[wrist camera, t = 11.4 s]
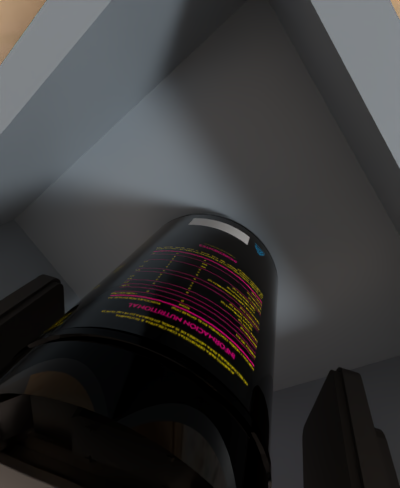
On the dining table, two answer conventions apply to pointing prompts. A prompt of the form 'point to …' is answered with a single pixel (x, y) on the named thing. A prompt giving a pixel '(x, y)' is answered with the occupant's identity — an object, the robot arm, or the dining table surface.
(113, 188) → the tote
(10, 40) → the dining table surface
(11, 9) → the dining table surface
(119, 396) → the supplement container
